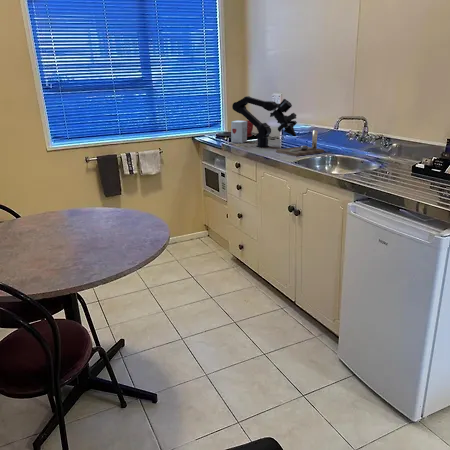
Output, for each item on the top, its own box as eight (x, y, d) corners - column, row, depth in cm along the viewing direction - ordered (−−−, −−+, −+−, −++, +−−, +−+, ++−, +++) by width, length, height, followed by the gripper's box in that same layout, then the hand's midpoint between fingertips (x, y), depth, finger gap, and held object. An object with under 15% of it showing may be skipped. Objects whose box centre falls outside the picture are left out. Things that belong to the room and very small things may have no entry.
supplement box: (230, 142, 310) (230, 121, 305) (236, 140, 317) (236, 120, 312) (242, 143, 306) (242, 121, 301) (247, 141, 313) (247, 120, 308)
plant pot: (233, 136, 341) (233, 120, 337) (248, 135, 346) (248, 120, 342) (241, 138, 330) (241, 122, 326) (255, 137, 335) (256, 121, 331)
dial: (293, 151, 260) (294, 132, 256) (289, 149, 263) (289, 132, 260) (318, 148, 267) (319, 130, 264) (313, 147, 271) (314, 130, 268)
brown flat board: (295, 156, 254) (295, 153, 254) (276, 152, 269) (276, 149, 268) (324, 152, 267) (324, 149, 266) (304, 148, 281) (304, 145, 280)
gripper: (282, 109, 264) (298, 129, 262) (294, 107, 279) (309, 126, 277) (271, 122, 271) (286, 140, 269) (283, 119, 285) (297, 137, 284)
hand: (295, 135), depth 274 cm, fingers closed
